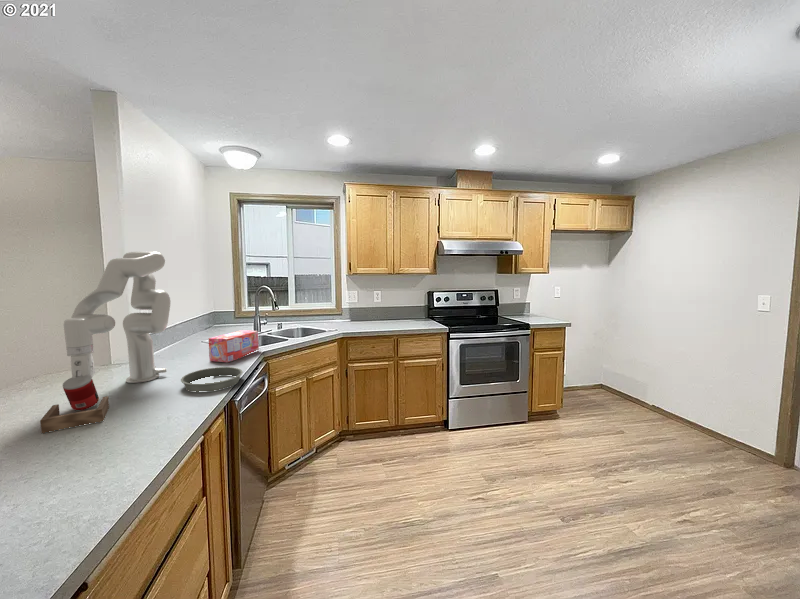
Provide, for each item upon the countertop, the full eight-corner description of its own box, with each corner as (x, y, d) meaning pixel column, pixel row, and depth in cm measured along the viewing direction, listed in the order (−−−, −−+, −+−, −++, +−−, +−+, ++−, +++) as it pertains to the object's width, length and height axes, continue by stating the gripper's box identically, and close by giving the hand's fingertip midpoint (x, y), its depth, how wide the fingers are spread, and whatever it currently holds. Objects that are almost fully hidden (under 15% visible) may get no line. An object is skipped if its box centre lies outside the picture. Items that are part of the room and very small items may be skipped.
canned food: (104, 400, 131) (96, 378, 126) (79, 414, 124) (70, 391, 119) (91, 394, 133) (83, 371, 128) (67, 406, 126) (57, 383, 122)
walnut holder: (109, 407, 128) (108, 396, 128) (103, 421, 117) (102, 409, 116) (54, 417, 120) (52, 405, 119) (41, 433, 108) (40, 420, 108)
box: (242, 350, 215) (241, 328, 213) (259, 351, 211) (258, 329, 210) (208, 361, 189) (207, 337, 187) (227, 363, 186) (226, 339, 184)
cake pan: (236, 391, 145) (236, 381, 145) (171, 396, 139) (171, 386, 139) (247, 373, 169) (247, 365, 168) (192, 377, 163) (192, 368, 163)
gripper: (88, 353, 125) (93, 400, 127) (97, 344, 138) (102, 388, 140) (60, 356, 121) (66, 405, 123) (72, 347, 134) (77, 391, 136)
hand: (85, 395), depth 131 cm, fingers closed
